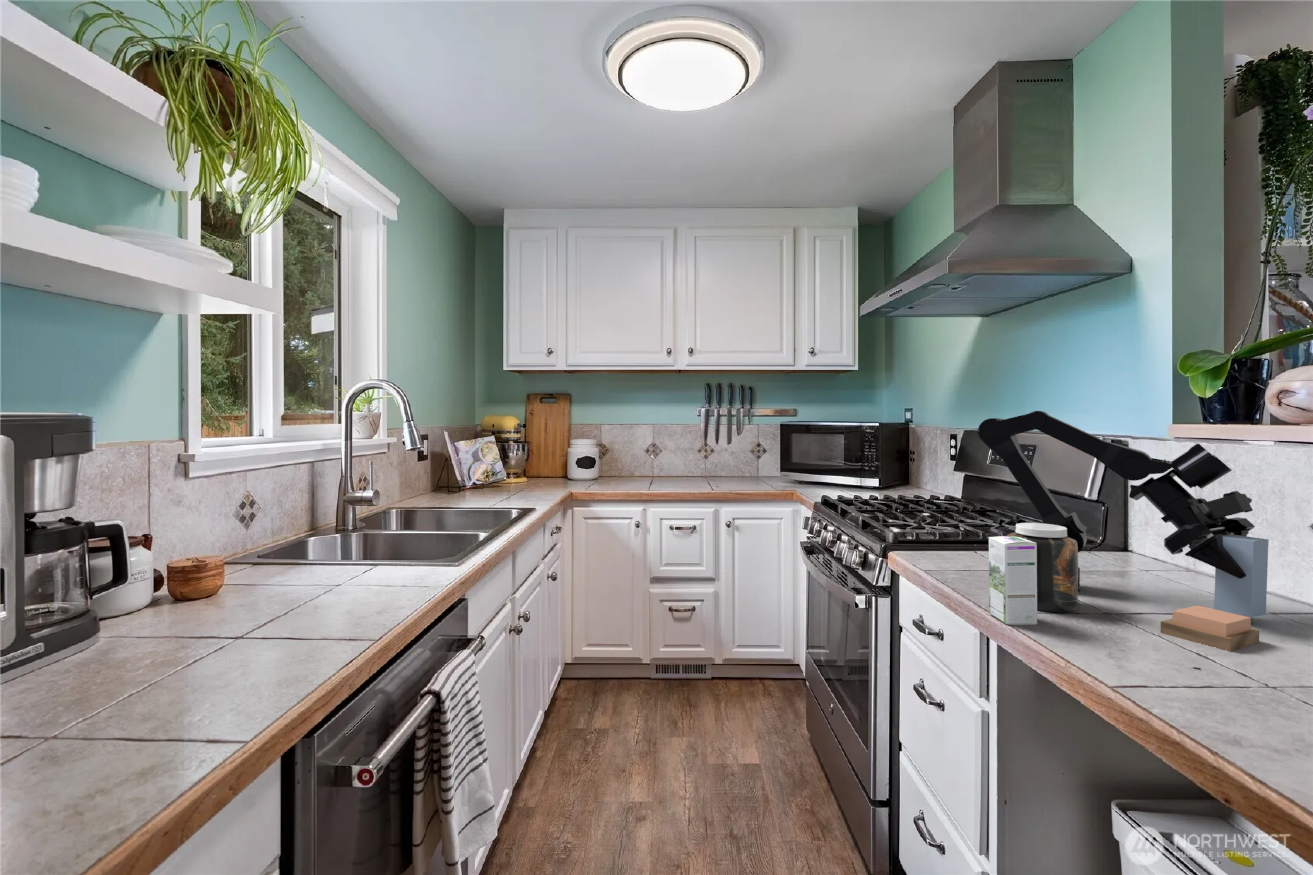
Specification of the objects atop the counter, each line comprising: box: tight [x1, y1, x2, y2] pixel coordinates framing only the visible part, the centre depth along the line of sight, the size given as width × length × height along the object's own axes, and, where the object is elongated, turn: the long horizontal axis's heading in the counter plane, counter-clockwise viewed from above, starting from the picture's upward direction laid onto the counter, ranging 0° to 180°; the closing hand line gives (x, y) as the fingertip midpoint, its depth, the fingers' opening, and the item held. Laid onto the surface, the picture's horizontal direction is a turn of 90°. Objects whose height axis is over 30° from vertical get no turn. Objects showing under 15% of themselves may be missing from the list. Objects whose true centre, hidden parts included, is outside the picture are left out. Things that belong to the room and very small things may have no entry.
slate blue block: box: [1213, 534, 1269, 618], centre depth 106 cm, size 5×5×13 cm
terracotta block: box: [1172, 605, 1252, 636], centre depth 98 cm, size 7×7×2 cm
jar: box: [1006, 522, 1079, 613], centre depth 117 cm, size 12×12×15 cm
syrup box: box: [988, 535, 1038, 626], centre depth 108 cm, size 6×6×14 cm
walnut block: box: [1160, 618, 1260, 652], centre depth 98 cm, size 9×9×2 cm
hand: (1251, 575), depth 105 cm, fingers closed on slate blue block, 5 cm apart
